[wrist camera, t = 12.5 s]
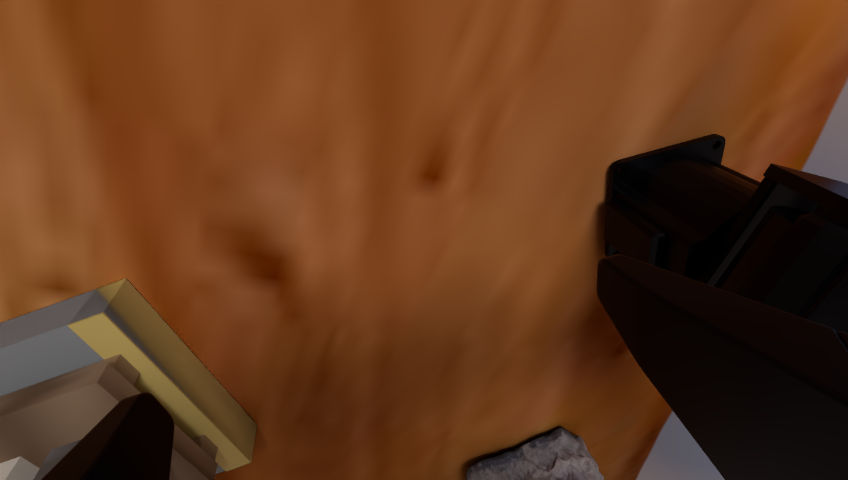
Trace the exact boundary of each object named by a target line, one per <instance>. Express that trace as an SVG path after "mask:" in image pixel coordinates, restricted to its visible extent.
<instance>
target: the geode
mask: <svg viewBox="0 0 848 480" xmlns="http://www.w3.org/2000/svg"><path fill="white" fill-rule="evenodd" d="M466 479H467V480H603V479H604V477H603V476H602V474H601V473H600V472H599V471H598V465H597V463H596V461H595V460H594V458H593V457H592V456H591V455H590V453H589V452H588V450H587V448H586V445H585V443H584V441H583V439H582V438H581V437H579V436H574V435H573V434H571V433H570V432H569V431H567V430H566V429H565V428H563V427H560V428H558V429H557V430H555V431H553V432H552V433H551V434H549V435H545V436H542V437H540V438H537V439H535V440H533V441H531V442H529V443H527V444H524V445H522V446H520V447H519V448H517V449H515V450H513V451H510V452H506V453H503V454H501V455H499V456H497V457H493V458H488V459H484V460H482V461H480V462H477V463H476V464H474V465H472V466H470V467H469V468H468V470H467V474H466Z"/></svg>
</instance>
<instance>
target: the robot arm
mask: <svg viewBox="0 0 848 480" xmlns="http://www.w3.org/2000/svg"><path fill="white" fill-rule="evenodd" d="M714 143H715V144H714ZM713 144H714V145H713ZM724 147H725V138H724V137H722V136H720V135H717V134H712V135H708V136H704V137H701V138H697V139H693V140H690V141H686V142H682V143H679V144H675V145H671V146H668V147H664V148H661V149H657V150H653V151H650V152H646V153H642V154H639V155H635V156H631V157H628V158H624V159H620V160H617V161H615V162H614V163H613V164H612V165H611V167H610V170H609V185H608V201H607V203H606V214H605V233H604V238H605V240H606V241H605V255H606V256H607V257H605V258H602V259H601V260H600V261H599V263H598V271H597V294H598V298H599V300H600V302H601V304H602V305H603V307H604V309H605V310H606V312H607V314H608V315H609V317H610V319H611V320H612V322H613V324H614V325H615V327H616V329H617V330H618V332H619V334H620V335H621V337H622V339H623V340H624V342H625V344H626V345H627V347H628V349H629V350H630V352H631V354H632V355H633V357H634V358H635V360H636V362H637V363H638V365H639V366H640V367H641V369H642V370H643V372H644V373H645V374H646V376H647V377H648V378H649V380H650V381H651V382H652V384H653V385H654V386H655V388H656V389H657V390H658V392H659V393H660V394H661V396H662V397H663V398H664V399H665V401H666V402H667V403H668V405H669V406H670V407H671V409H672V410H673V411H674V413H675V414H676V415H677V417H678V418H679V419H680V421H681V422H682V423H683V425H684V426H685V427H686V429H687V430H688V431H689V433H690V434H691V435H692V437H693V438H694V439H695V441H696V442H697V443H698V444H699V446H700V447H701V448H702V450H703V451H704V452H705V454H706V455H707V456H708V458H709V459H710V460H711V462H712V463H713V464H714V466H715V467H716V468H717V469H718V471H719V472H720V474H721V475H722V476H723V478H724V479H725V480H848V184H847V183H844V182H841V181H837V180H833V179H830V178H826V177H822V176H818V175H814V174H810V173H807V172H803V171H799V170H795V169H791V168H787V167H783V166H780V165H776V164H772V163H771V164H770V166H769V167H768V169H767V170H766V172H765V173H764V174H763V175H764V176H765V177H764V179H763V180H762V182H758V181H756V180H754V179H752V178H750V177H747V176H745V175H743V174H741V173H739V172H736V171H734V170H732V169H730V168H728V167H725V166H723V165H721V161H722V156H723V151H724ZM621 167H622V170H621V171H620V172H618V170H619V169H620V168H621ZM614 251H615V252H614ZM173 439H174V421H173V419H172V416H171V415H170V414H169V413H168V412H167V410H166V409H165V408H164V407H163V406H162V405H161V404H160V402H159V401H158V400H157V399H156V398H155V397H154V396H153V395H152V394H150V393H148V392H143V393H139V394H136V395H132V396H129V397H126V398H124V399H122V400H121V401H120V402H119V403H118V404H117V405H116V406H115V407H114V408H113V409H112V410H111V411H110V412H109V413H108V414H107V415H106V416H105V417H104V418H103V419H102V420H101V421H100V422H99V423H98V424H97V425H96V426H95V427H94V428H93V429H92V430H91V431H90V432H88V433H87V434H86V435H85V436H84V437H83V438H82V439H81V440H80V441H79V442H78V443H77V444H76V445H75V446H74V447H73V448H72V449H71V450H70V451H69V452H68V453H67V454H66V455H65V456H64V457H63V458H62V459H61V460H60V461H59V462H58V463H57V464H56V465H55V466H54V467H53V468H52V469H51V470H50V471H49V472H48V473H47V474H46V475H45V476H44V477H43V478H42V479H41V480H169V479H170V469H171V459H172V449H173Z"/></svg>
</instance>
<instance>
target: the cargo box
mask: <svg viewBox="0 0 848 480" xmlns="http://www.w3.org/2000/svg"><path fill="white" fill-rule="evenodd" d="M39 469H40V468H38V467H37V466H35V465H33V464H32V463H30V462H29V461H27V460H26V459H24V458H22V457H21V456H20V457H17V458H14V459H11V460H9V461H6V462H3V463H0V480H33V479H34V477H35V476H36V474H37V472H38V471H39Z"/></svg>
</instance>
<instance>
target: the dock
mask: <svg viewBox="0 0 848 480" xmlns="http://www.w3.org/2000/svg"><path fill="white" fill-rule="evenodd" d="M119 354H121V355H122V356H123V357H124V358H125V359H126V360H127V361H128V362H129V363H130V364H131V365H132V366H133V367H134V368H136V369H137V370H138V371H139V372H140V373H139V375H138V377H137V379H136V381H135V383H134V385H133V386H134V387H135V388H136V389H137V390H138V391H139V392H140V393H143V392H148V393H150V394H152V395H153V396H154V397H155V398H156V399H157V400H158V401H159V402H160V404H161V405H162V406H163V407H164V408H165V409H166V410H167V412H168V413H169V414H170V415H171V416H172V419H173V421H174V424H175V425H176V426H177V427H179V428H180V429H181V430H182V431H183V432H184V433H185V434H186V435H187V436H188V437H189V438H190V439H194V438H196V437H199V436H202V435H205V436H206V437H207V438H209V439H210V440H211V441H212V442H213V443H214V444H215V445H216V446H217V447H218V450H217V454H216V459H215V461H216V462H217V463H218V465H217V469H216V474H217V473H220V472H223V471H226V472H227V471H230V470H232V469H235V468H238V467H241V466H243V465H246V464H249V463H251V461H252V455H253V448H254V442H255V435H256V429H257V424H256V423H255V422H254V421H253V420H252V419H251V418H250V416H249V415H248V414H247V413H246V412H245V411H244V410H243V409H242V407H241V406H240V405H239V404H238V403H237V402H236V401H235V400H234V398H233V397H232V396H231V395H230V394H229V393H228V392H227V391H226V390H225V388H224V387H223V386H222V385H221V384H220V383H219V382H218V381H217V379H216V378H215V377H214V376H213V375H212V374H211V373H210V372H209V371H208V369H207V368H206V367H205V366H204V365H203V364H202V363H201V362H200V360H199V359H198V358H197V357H196V356H195V355H194V354H193V353H192V352H191V350H190V349H189V348H188V347H187V346H186V345H185V344H184V343H183V341H182V340H181V339H180V338H179V337H178V336H177V335H176V334H175V333H174V331H173V330H172V329H171V328H170V327H169V326H168V325H167V324H166V322H165V321H164V320H163V319H162V318H161V317H160V316H159V315H158V314H157V312H156V311H155V310H154V309H153V308H152V307H151V306H150V305H149V303H148V302H147V301H146V300H145V299H144V298H143V297H142V296H141V295H140V293H139V292H138V291H137V290H136V289H135V288H134V287H133V286H132V284H131V283H130V282H129V281H128V280H127V279H123V280H120V281H118V282H115V283H112V284H109V285H106V286H104V287H101V288H98V289H95V290H92V291H90V292H87V293H84V294H81V295H78V296H76V297H73V298H70V299H67V300H64V301H62V302H59V303H56V304H53V305H50V306H47V307H45V308H42V309H39V310H36V311H33V312H31V313H28V314H25V315H22V316H19V317H17V318H14V319H11V320H8V321H5V322H3V323H0V396H2V395H5V394H8V393H11V392H14V391H17V390H19V389H22V388H25V387H28V386H31V385H34V384H37V383H39V382H42V381H45V380H48V379H51V378H54V377H56V376H59V375H62V374H65V373H68V372H71V371H73V370H76V369H79V368H82V367H85V366H88V365H90V364H93V363H96V362H99V361H102V360H105V359H107V358H110V357H113V356H116V355H119Z"/></svg>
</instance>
